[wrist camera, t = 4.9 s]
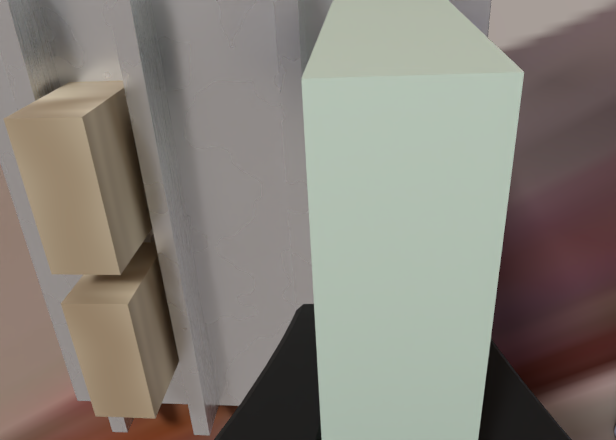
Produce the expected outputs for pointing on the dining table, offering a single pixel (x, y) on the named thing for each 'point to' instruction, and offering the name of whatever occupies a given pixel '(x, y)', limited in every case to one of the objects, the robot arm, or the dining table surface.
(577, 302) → the dining table surface
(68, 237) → the oak offcut
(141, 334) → the oak offcut
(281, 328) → the slot rack
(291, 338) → the robot arm
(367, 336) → the sage panel
